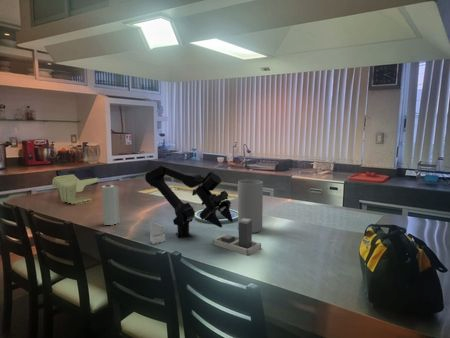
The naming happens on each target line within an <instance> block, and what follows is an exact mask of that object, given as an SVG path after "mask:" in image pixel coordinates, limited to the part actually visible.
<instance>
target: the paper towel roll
mask: <svg viewBox="0 0 450 338" xmlns="http://www.w3.org/2000/svg"><path fill="white" fill-rule="evenodd" d="M101 196H102V198H101V199H102V211H103V212H102V213H103V214H102V217H103V225H104V226H105V225H111V226H115V225H114V224H116V225H118V224H117V223H119V224H120V223H121V222H120V221H121V220H120V217H121V216H120V199H119V186H118V185H115V186H114V184H110V185H109V184H108V185H102V186H101Z"/></svg>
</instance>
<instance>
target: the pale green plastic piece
mask: <svg viewBox="0 0 450 338" xmlns="http://www.w3.org/2000/svg"><path fill="white" fill-rule="evenodd" d="M98 182H99V177H94V178H86V179H79V178H78V177H77V176H76V175H75V174H73V173H72V174H71V173H70V174H65V175H59V176H58V175H57V176H55V177H53V178H52V188H57V190H58V191H59V195H60V200H61V202H62V203H65V202H67V203H66V204H69V203H71V204H70V205H73V203H78V202H82V201H87V200H92V198H91V197H87V196H78V197H76V195H77V193H79V192H83V191H84V188H85V187H86V186H91V185H93V184H96V183H98Z"/></svg>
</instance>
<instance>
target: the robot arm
mask: <svg viewBox="0 0 450 338" xmlns="http://www.w3.org/2000/svg"><path fill="white" fill-rule="evenodd" d="M166 175H167V176H169V177H170V178H174V179H175V180H178V181H181V182H182V183H183V184H184V186H187V187H188V188H190V189H192V194H191V196H196V195H197V196H198V198H199V200H200V201H201V205H202V206H205V208H204V209H202V211H201V212H200V213H199V218H200V219H201V220H202V221H203V220H204V221H206V222H209V223H211V224H213V225H215V226H217V227H219V228H223V223H221V221H220V220H219V218H218V216H217V211H218V212H219V213H220V215H222V217H224V218H225V219H227V220H228V221H229V222H230V223H232V222H233V221H234V219H233V216H232V214H231V211H230V208H231V204H232V202H231V201H230V199H229V193H228V192H227V191H226V190H223V191H220V194H215V193H212V192H211V191H214V190H215V189H216V188H218V186H219V185H220V184H221V182H222V179H221V177H220V176H219V175H217V174H216V173H214V172H213V171H210V172H208V174H207V175H206V176H205V177H203V176H202V175H201V174H199V173H192V172H186V171H184V170H180V169H178V168H176V167H173V166H170V165H169V164H162V165H159V166H158V167H156V168H154V169H153V170H151V171H148V172H146V173H145V177H144V178H145V179H144V181H145V182H146V183H148V184H149V185H150V187H153V188H155V189H156V190H157V191H159V193H160V194H161V195H162V196H163V197H164V198H165V200H166V201H167V202H168V203H169V205H171V207H172V208H173V209H174V214H175V217H174V218H173V220H172V222H173V225H175V226H176V227H177V232H175V235H176V236H177V238H179V239H180V238H186V237H192V234H191V233H190V223H191V222H193V220H194V218H195V215H196V212H195V209H194V207H193V206H192V205H191V204H190V202H185V203H184V202H183V201H182V199H180V197H178V195H176V194H175V192H174V191H173V190H172V189H171V187H170V186H169V185H168V184H167V183H166V181H165V176H166ZM193 188H194V189H193Z"/></svg>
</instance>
